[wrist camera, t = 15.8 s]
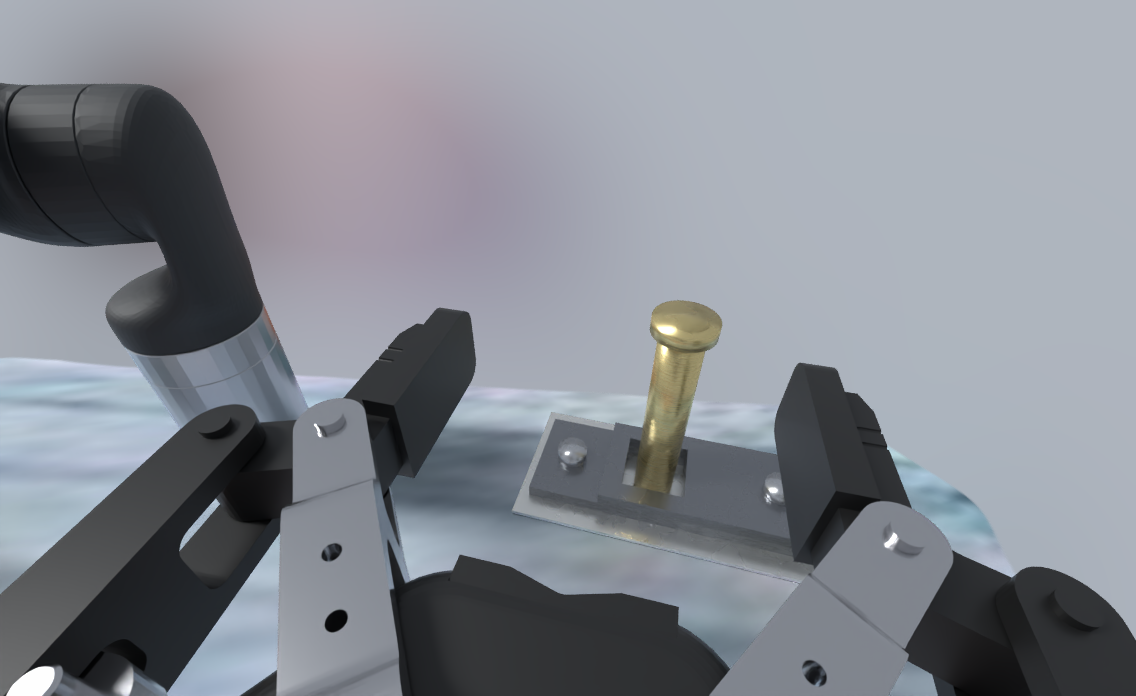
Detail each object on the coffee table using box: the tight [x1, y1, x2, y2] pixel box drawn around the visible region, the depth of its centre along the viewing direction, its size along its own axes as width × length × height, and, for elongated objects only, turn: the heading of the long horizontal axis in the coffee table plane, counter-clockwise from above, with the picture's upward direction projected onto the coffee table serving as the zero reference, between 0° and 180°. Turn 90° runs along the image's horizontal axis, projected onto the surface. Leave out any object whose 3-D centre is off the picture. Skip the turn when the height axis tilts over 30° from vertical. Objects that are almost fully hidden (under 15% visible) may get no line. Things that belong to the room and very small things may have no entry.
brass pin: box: [634, 300, 722, 494], centre depth 40 cm, size 5×5×19 cm
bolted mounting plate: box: [512, 412, 814, 583], centre depth 45 cm, size 28×13×4 cm, turn 76°
